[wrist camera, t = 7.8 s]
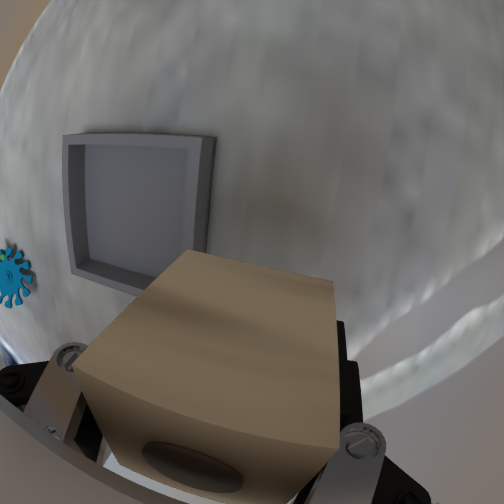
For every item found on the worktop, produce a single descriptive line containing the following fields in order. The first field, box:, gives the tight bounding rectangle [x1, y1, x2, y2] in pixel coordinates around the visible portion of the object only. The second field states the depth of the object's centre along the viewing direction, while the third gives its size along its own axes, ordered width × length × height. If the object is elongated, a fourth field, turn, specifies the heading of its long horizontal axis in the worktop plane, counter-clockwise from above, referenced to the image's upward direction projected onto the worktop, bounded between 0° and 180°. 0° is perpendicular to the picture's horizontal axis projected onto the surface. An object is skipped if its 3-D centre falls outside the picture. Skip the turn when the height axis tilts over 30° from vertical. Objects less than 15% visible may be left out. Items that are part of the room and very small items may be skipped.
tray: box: [62, 132, 217, 296], centre depth 27 cm, size 16×16×4 cm
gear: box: [0, 247, 33, 308], centre depth 36 cm, size 11×6×10 cm
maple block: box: [72, 249, 340, 504], centre depth 8 cm, size 5×5×6 cm
